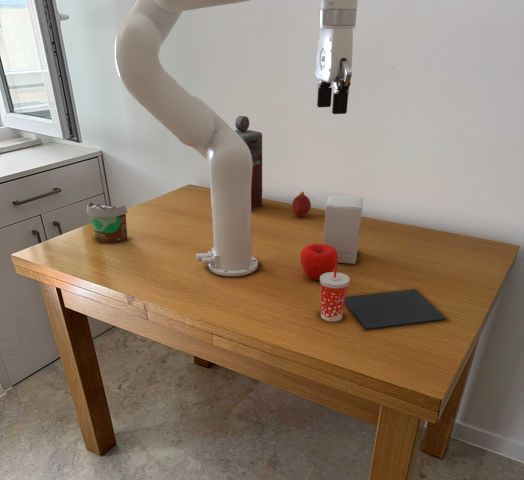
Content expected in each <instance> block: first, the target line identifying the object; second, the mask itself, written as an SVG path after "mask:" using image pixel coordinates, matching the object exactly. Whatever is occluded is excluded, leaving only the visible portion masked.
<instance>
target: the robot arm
mask: <svg viewBox="0 0 524 480" xmlns="http://www.w3.org/2000/svg"><path fill="white" fill-rule="evenodd" d="M248 1H250V0H135V2H134V4H133V5H132V7H131V9H130V10H129V12H128V14H127V15H126V16H125V17H124V18H123V19H122V20H121V22H120V24H118V27H117V29H116V36H115V42H114V43H115V44H114V59H115V60H114V61H115V66H116V70H117V73H118V76H119V78H120V80H121V82H122V84H123V86H124V87H125V89H126V90H127V91H128V93H129V94H130V95H131V97H132V98H133V99H135V101H136V102H137V103H138V104H139V105H141V106H142V107H143V108H144V109H145V110H146V111H147V112H148V113H149V114H150V115H151V116H152V117H153V118H154V119H155V120H157V121H158V122H159V123H160V124H161V125H162V126H163V127H164V128H165V129H167V130H168V131H169V132H170V133H171V134H172V135H173V136H174V137H175V138H176V140H178V141H179V142H180V143H182V144H183V145H184V146H188V147H191V148H193V149H194V150H195V151H196V152H197V153H198V154H199V155H201V156H202V157H203V158H204V159H205V160H207V161H208V164H209V172H210V173H209V174H210V175H209V177H210V204H211V217H212V219H211V220H212V236H213V237H212V238H213V239H212V240H213V247H211V251H210V250H209V251H207V252H204V253H201V252H200V253H195V260H196V262H201V263H202V265H205V264H207V265H208V269H209V270H210V271H211V272H212V273H213V274H216V275H219V276H221V277H222V276H223V277H232V278H233V277H242V276H246V275H249V274H252V273H254V272H255V271H256V270H257V269H258V268H259V267H258V266H259V261H258V259H257V258H255V256H253V247H252V244H253V242H252V241H253V239H252V238H253V235H252V233H253V232H252V231H253V230H252V210H251V180H252V157H251V153H250V150H249V148H248V146H247V145H246V143H245V142H244V141H243V139H242V138H241V137H240V136H239V135H238V134H237V133H236V132H235V131H234V130H235V129H234V128H232V127H231V126H230V125H229V124H228V123H227V122H226V121H225V120H224V119H223V118H222V117H221V116H220V115H219V114H217V113H216V112H215V110H213V109H212V107H210V106H209V105H208V104H207V103H206V102H205V101H204V100H202V99H201V98H200V97H198V96H195V95H191V94H190V93H189V92H188V91H187V90H186V89H185V88H184V87H183V86H181V85H180V83H179V82H178V81H177V80H176V79H175V78H174V77H173V76H172V75H170V73H168V72H167V71H166V70H165V69H164V67H163V66H162V64H161V61H160V58H159V56H160V55H159V54H160V52H161V48H162V45H163V43H164V42H165V40H166V39H167V37H168V36H169V34H170V33H171V31H172V29H173V28H174V27H175V25H176V23H177V22H178V21H179V18H180V17H181V15H182V13H183V12H185V11H192V10H193V11H194V10H199V9H204V8H212V7H218V6H219V7H220V6H225V5H233V4H239V3H245V2H248ZM319 3H320V4H319V20H318V21H319V22H318V28H319V29H320V30H319V35H318V41H317V48H316V49H317V50H316V61H315V74H314V76H315V78H316V79H317V80H318V82H317V87H318V88H317V99H316V106H317V108H330V107H331V106H332V108H331V113H332V114H333V115H345V114H347V112H348V104H349V103H348V102H349V94H350V87H351V80H352V76H353V71H352V64H353V45H354V37H353V36H354V29H356V26H357V25H356V24H357V11H358V0H320V2H319ZM332 83H333V87H332ZM333 88H334V92H333ZM332 94H333V95H332Z"/></svg>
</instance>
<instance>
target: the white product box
mask: <svg viewBox="0 0 524 480" xmlns="http://www.w3.org/2000/svg"><path fill="white" fill-rule="evenodd" d="M363 201H364V198H363V197H359V196H343V195H341V196H340V195H329V196H328V198H327V202H326V205H325V218H324V230H323V242H322V244H324V245H329V246H332V247H333V248H335V249H336V251H337V255H338V260H337V264H338V263H341V264H352V265H356V263H357V256H358V251H359V250H358V249H359V242H360V235H361V225H362V215H363Z"/></svg>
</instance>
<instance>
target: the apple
mask: <svg viewBox="0 0 524 480" xmlns="http://www.w3.org/2000/svg"><path fill="white" fill-rule="evenodd" d="M299 254H300V255H299V261H300V265H301V268H302V270H303V272H304V274H305V276H306V278H309V279H310V280H315V281H320V276H321V275H322V274H324V273H328V272H334V268H335V256H336V255H337V251H336V249H335V248H333V247H332V246H329V245H324V244H323V243H312V244H310V243H309V244H308V245H306V246H304V247H303V248H302V249H301V251H300V253H299Z"/></svg>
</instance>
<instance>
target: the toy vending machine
mask: <svg viewBox="0 0 524 480" xmlns="http://www.w3.org/2000/svg"><path fill="white" fill-rule="evenodd" d="M234 123H235V129H233V130H234V131H235V132H236V133H237V134H238V135H239V136H240V137H241V138H242V139H243V141H244V142H245V143H246V145H247V146H248V148H249V150H250V153H251V157H252V180H251V211H252V210H254V209H258V208H260V207H262V206H263V134H262V132H260V131H257V130H252V129H249V128H250V119H249V117H248V116H246V115H245V116H244V115H238V116H237V117H236V119H235V121H234Z"/></svg>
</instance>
